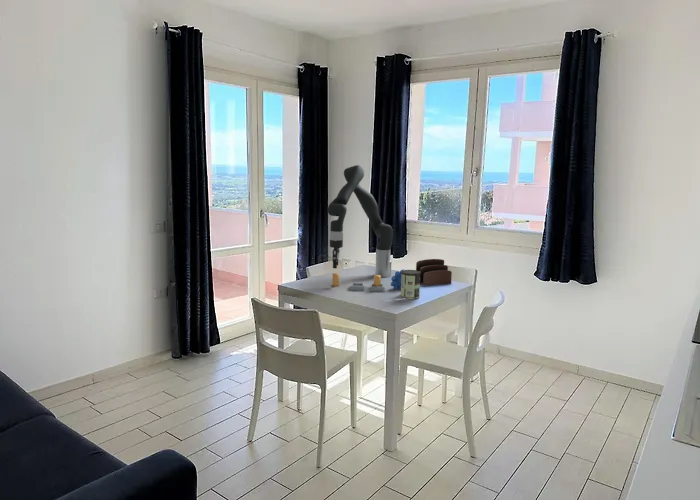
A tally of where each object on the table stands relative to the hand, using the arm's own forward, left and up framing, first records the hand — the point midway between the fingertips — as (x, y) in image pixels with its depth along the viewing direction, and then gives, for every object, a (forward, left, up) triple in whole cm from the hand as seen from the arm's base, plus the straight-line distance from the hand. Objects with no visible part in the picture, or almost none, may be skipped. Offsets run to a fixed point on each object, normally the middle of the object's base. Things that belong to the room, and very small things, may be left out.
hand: (335, 266), depth 294 cm
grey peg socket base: (-12, +15, -12) cm, 23 cm away
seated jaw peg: (-17, +18, -11) cm, 27 cm away
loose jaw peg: (0, 0, -12) cm, 12 cm away
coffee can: (-26, +36, -12) cm, 46 cm away
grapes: (-30, +21, -12) cm, 39 cm away
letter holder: (-60, +17, -13) cm, 63 cm away
